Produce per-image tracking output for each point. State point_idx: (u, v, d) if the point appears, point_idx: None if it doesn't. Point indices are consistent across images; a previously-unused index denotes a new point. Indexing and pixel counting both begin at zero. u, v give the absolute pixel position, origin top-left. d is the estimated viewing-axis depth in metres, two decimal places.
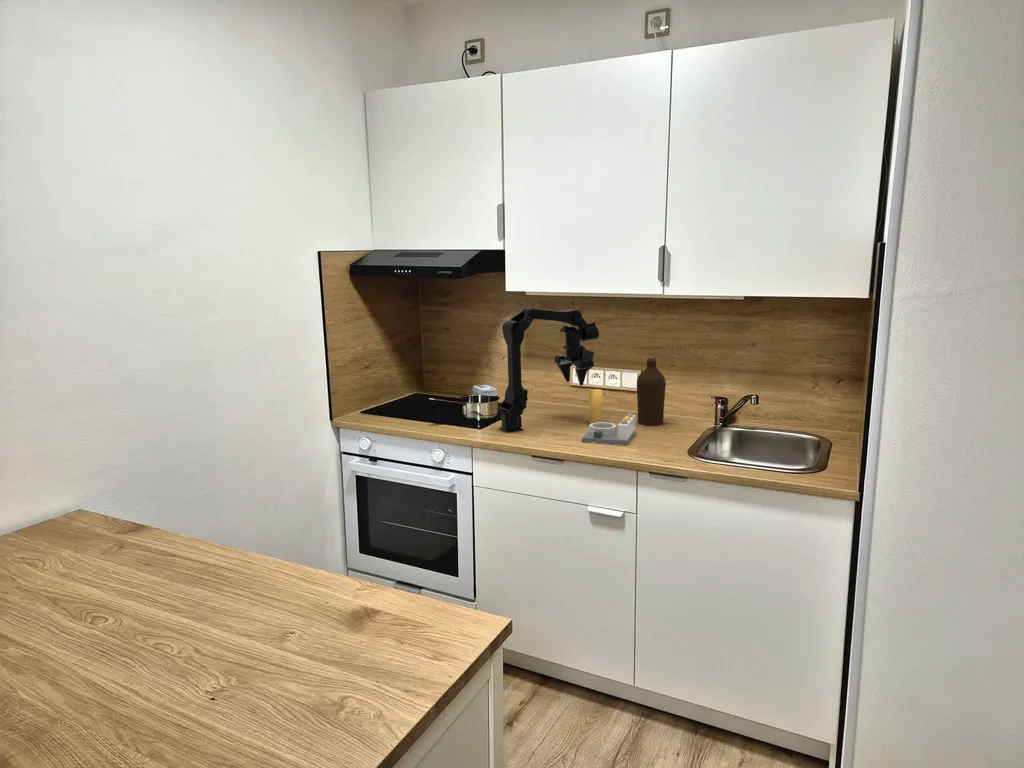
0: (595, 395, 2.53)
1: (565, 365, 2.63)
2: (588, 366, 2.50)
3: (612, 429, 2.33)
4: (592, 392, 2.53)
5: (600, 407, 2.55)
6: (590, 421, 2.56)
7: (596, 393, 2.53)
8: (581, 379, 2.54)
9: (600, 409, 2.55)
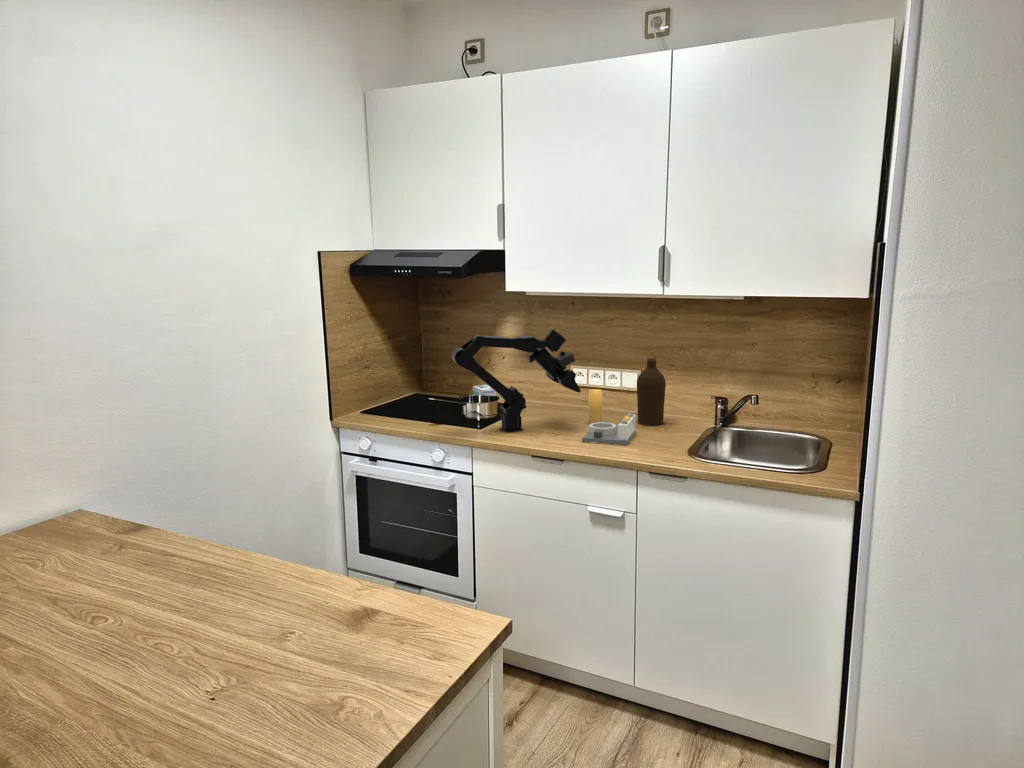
0: (595, 395, 2.53)
1: (558, 377, 2.56)
2: (570, 379, 2.42)
3: (612, 429, 2.33)
4: (592, 392, 2.53)
5: (600, 407, 2.55)
6: (590, 421, 2.56)
7: (596, 393, 2.53)
8: (575, 388, 2.47)
9: (600, 409, 2.55)
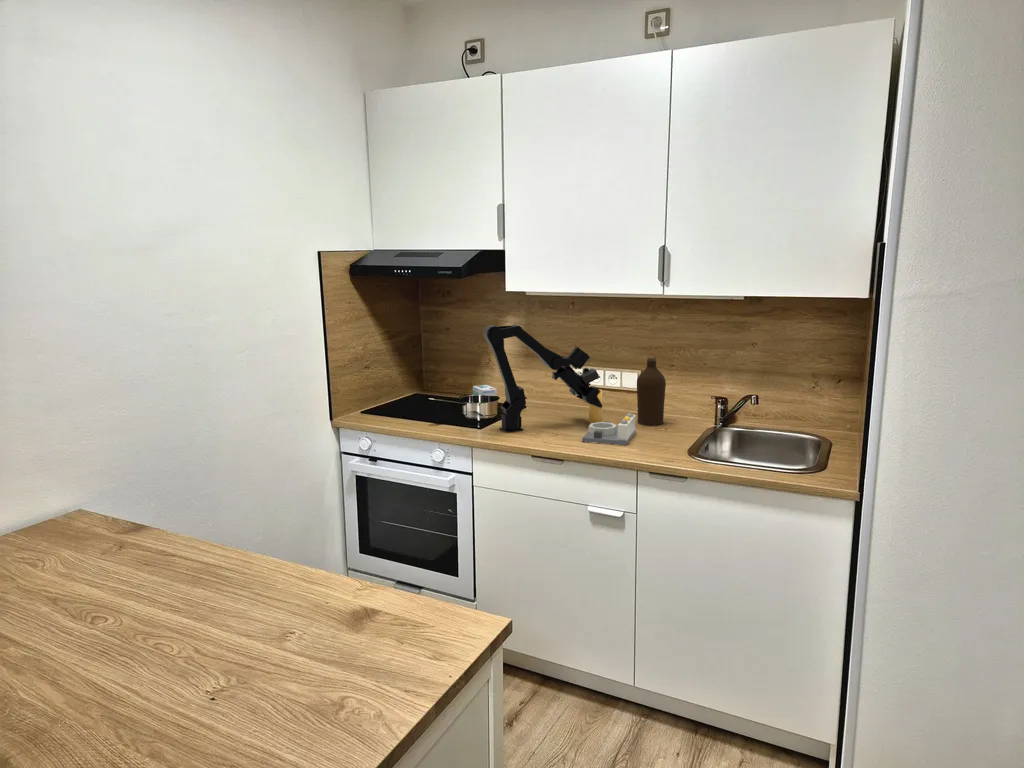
0: None
1: None
2: (595, 396, 2.45)
3: (612, 429, 2.33)
4: None
5: None
6: (590, 421, 2.56)
7: None
8: (597, 404, 2.52)
9: (600, 409, 2.55)
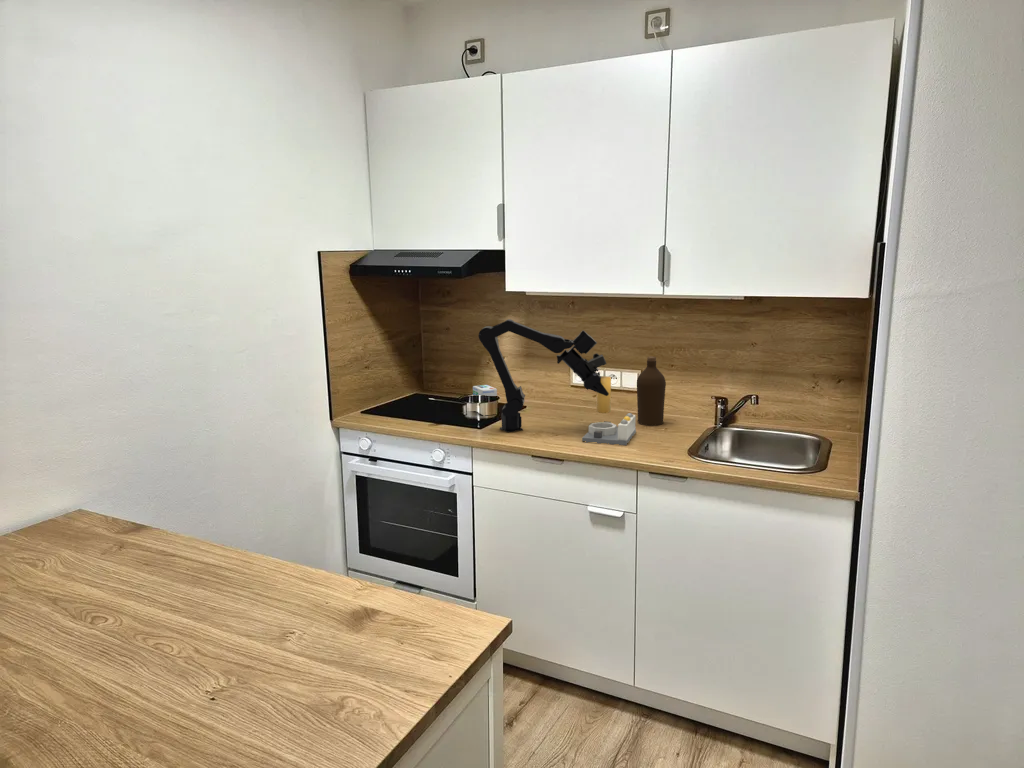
0: (601, 382, 2.41)
1: None
2: (593, 382, 2.34)
3: (612, 429, 2.33)
4: None
5: None
6: None
7: (602, 380, 2.41)
8: (602, 391, 2.40)
9: (607, 397, 2.42)
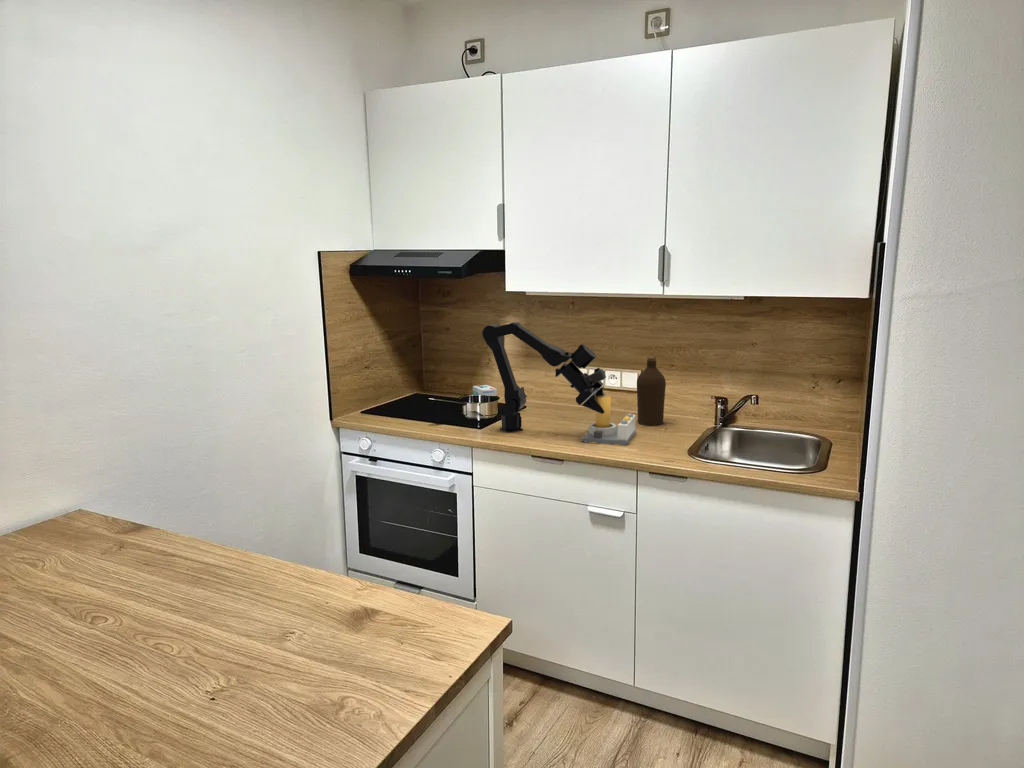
0: (599, 402, 2.34)
1: (596, 395, 2.41)
2: (585, 398, 2.28)
3: (612, 429, 2.33)
4: (597, 398, 2.34)
5: (605, 416, 2.34)
6: None
7: (600, 400, 2.33)
8: (597, 409, 2.31)
9: (604, 418, 2.34)
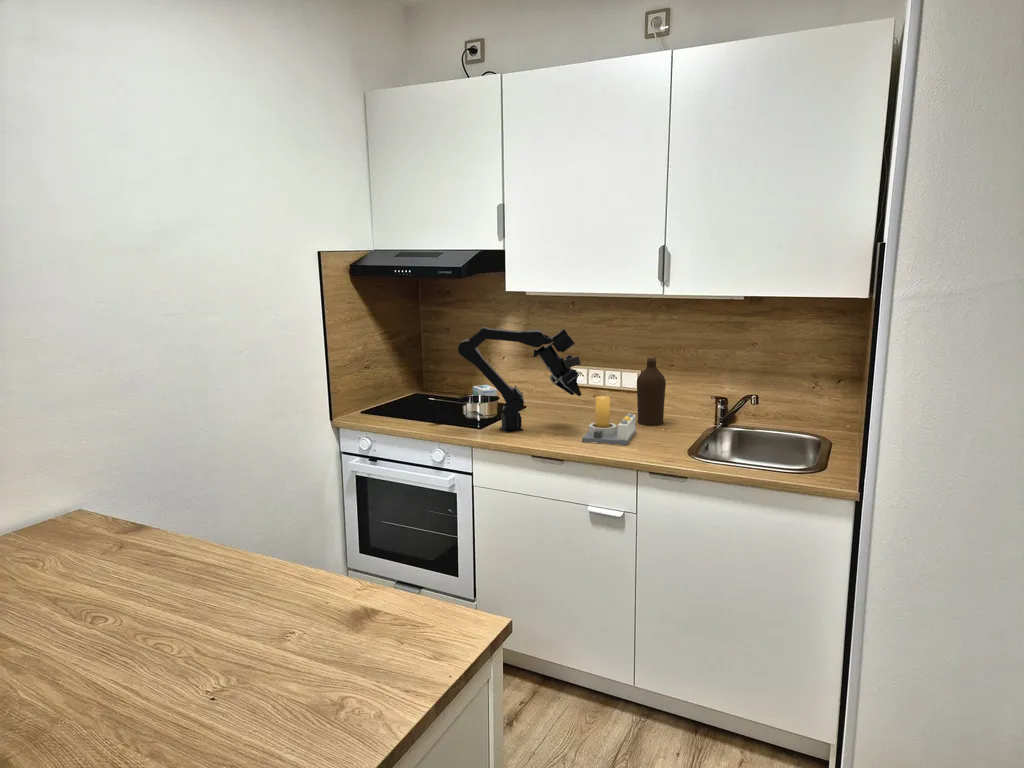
0: (598, 402, 2.34)
1: None
2: (571, 377, 2.36)
3: (612, 429, 2.33)
4: (596, 398, 2.34)
5: (604, 416, 2.34)
6: None
7: (599, 400, 2.33)
8: (576, 391, 2.40)
9: (604, 418, 2.34)
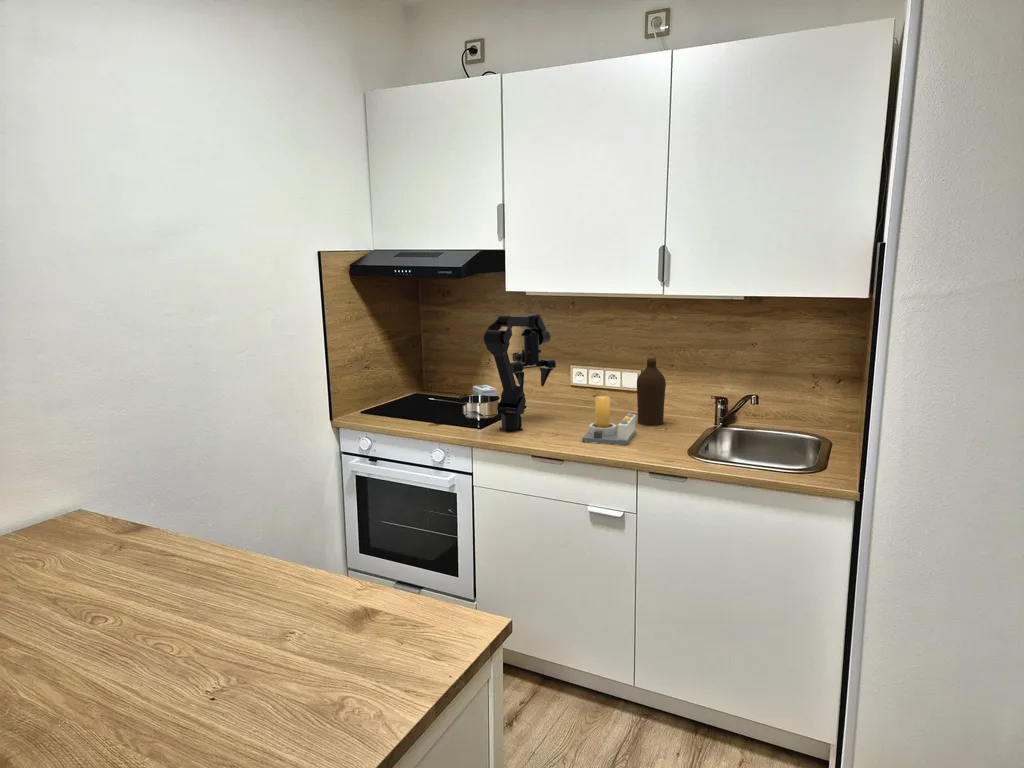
0: (598, 402, 2.34)
1: None
2: None
3: (612, 429, 2.33)
4: (596, 398, 2.34)
5: (604, 416, 2.34)
6: None
7: (599, 400, 2.33)
8: None
9: (604, 418, 2.34)
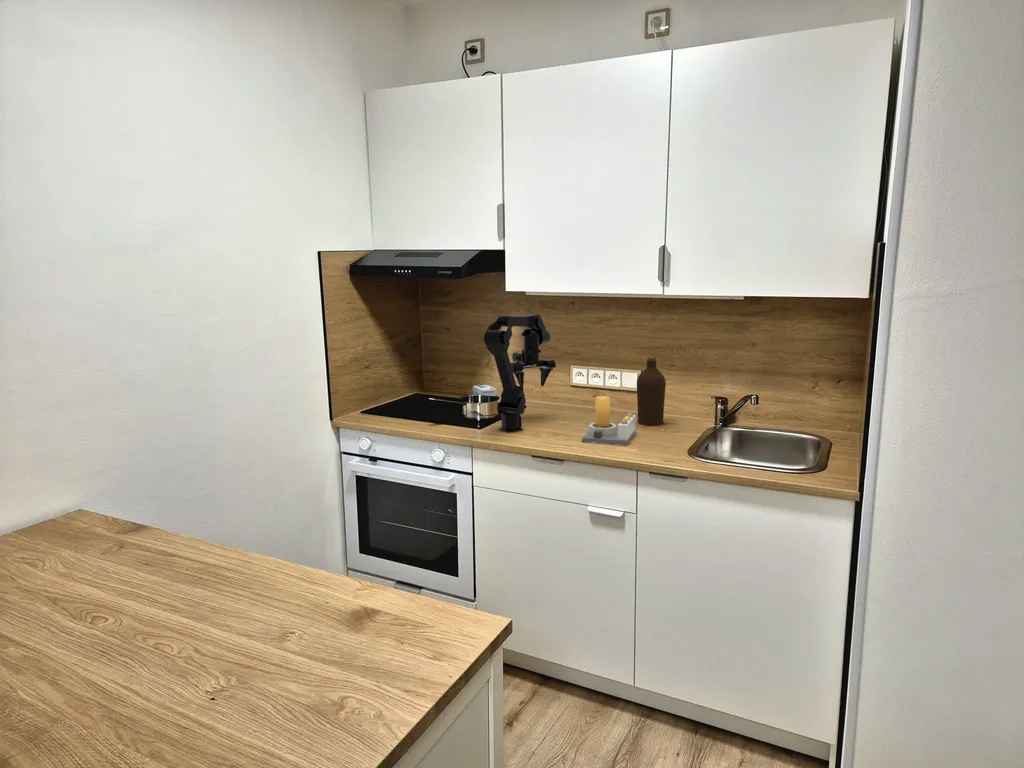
0: (598, 402, 2.34)
1: None
2: None
3: (612, 429, 2.33)
4: (596, 398, 2.34)
5: (604, 416, 2.34)
6: None
7: (599, 400, 2.33)
8: None
9: (604, 418, 2.34)
